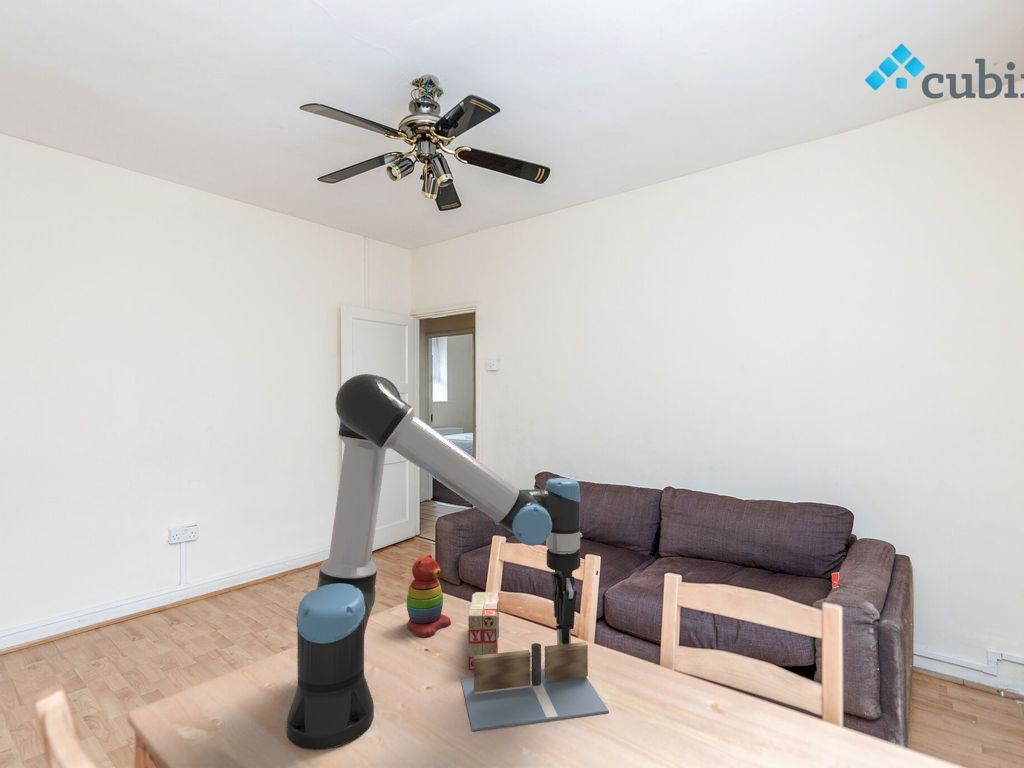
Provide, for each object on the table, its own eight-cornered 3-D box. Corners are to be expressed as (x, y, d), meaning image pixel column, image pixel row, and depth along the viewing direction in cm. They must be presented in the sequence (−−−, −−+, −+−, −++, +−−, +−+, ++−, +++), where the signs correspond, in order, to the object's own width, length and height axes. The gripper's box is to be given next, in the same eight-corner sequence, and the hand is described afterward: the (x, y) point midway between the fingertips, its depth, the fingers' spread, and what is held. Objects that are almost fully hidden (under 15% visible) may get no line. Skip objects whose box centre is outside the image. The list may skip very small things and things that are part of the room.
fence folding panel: (546, 681, 109) (546, 649, 109) (544, 678, 111) (544, 646, 111) (587, 676, 111) (587, 644, 111) (585, 673, 112) (585, 641, 113)
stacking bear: (427, 639, 130) (427, 566, 130) (396, 630, 135) (396, 560, 136) (454, 623, 139) (454, 555, 140) (424, 614, 145) (424, 549, 145)
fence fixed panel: (474, 693, 106) (474, 654, 106) (473, 688, 108) (473, 649, 108) (542, 685, 109) (542, 647, 109) (539, 680, 111) (539, 642, 111)
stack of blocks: (475, 627, 137) (474, 580, 137) (499, 627, 137) (499, 579, 137) (468, 671, 115) (468, 614, 116) (496, 671, 115) (496, 614, 116)
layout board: (472, 731, 95) (472, 728, 95) (461, 680, 111) (461, 678, 111) (608, 712, 100) (608, 710, 100) (578, 667, 117) (578, 665, 117)
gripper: (588, 557, 112) (589, 669, 112) (571, 540, 125) (572, 641, 124) (554, 559, 111) (554, 672, 110) (540, 541, 124) (541, 643, 123)
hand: (563, 655), depth 117 cm, fingers closed
